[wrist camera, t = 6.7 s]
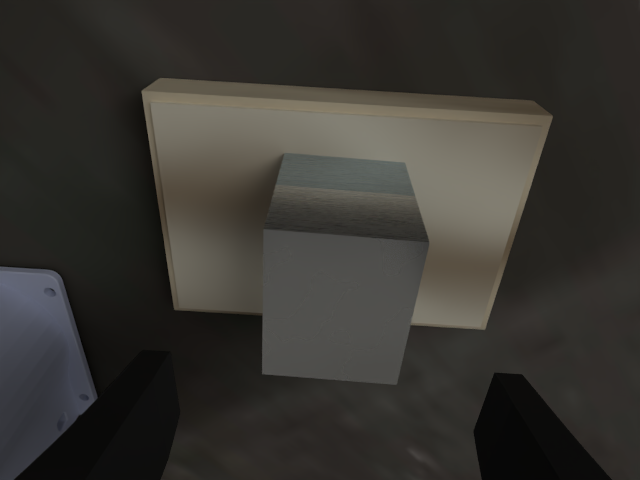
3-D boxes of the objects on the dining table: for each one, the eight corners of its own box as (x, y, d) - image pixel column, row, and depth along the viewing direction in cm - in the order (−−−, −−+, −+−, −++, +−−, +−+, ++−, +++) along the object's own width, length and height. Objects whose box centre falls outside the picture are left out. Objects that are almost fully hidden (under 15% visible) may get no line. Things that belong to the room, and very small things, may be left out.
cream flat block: (474, 301, 21) (486, 333, 19) (186, 283, 21) (172, 313, 19) (532, 100, 16) (555, 118, 14) (160, 77, 16) (139, 92, 14)
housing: (383, 282, 18) (396, 384, 14) (280, 274, 18) (261, 374, 14) (405, 162, 15) (430, 242, 11) (284, 152, 15) (263, 229, 11)
